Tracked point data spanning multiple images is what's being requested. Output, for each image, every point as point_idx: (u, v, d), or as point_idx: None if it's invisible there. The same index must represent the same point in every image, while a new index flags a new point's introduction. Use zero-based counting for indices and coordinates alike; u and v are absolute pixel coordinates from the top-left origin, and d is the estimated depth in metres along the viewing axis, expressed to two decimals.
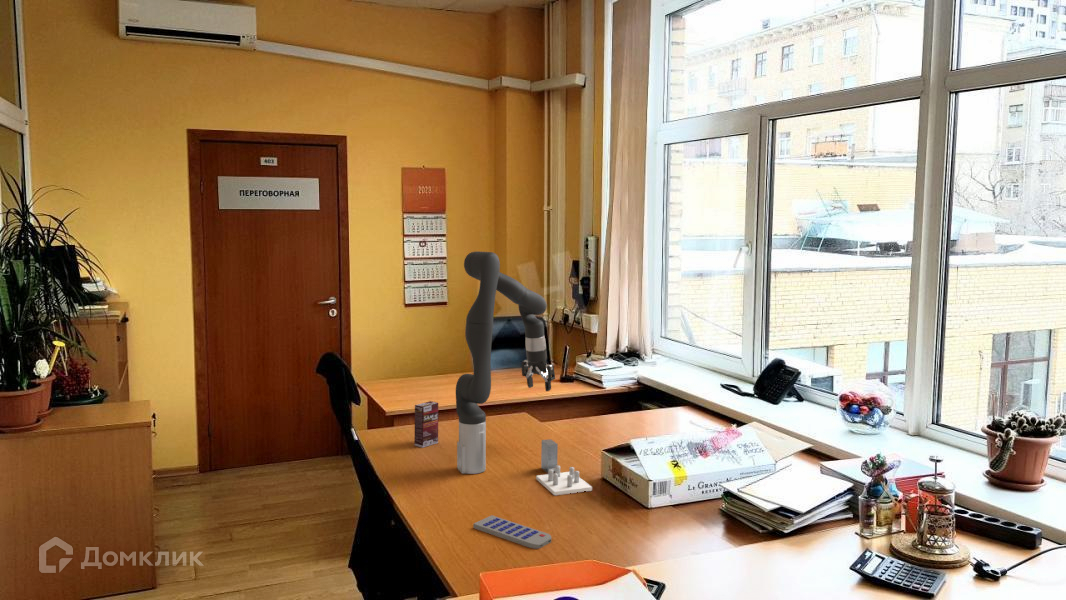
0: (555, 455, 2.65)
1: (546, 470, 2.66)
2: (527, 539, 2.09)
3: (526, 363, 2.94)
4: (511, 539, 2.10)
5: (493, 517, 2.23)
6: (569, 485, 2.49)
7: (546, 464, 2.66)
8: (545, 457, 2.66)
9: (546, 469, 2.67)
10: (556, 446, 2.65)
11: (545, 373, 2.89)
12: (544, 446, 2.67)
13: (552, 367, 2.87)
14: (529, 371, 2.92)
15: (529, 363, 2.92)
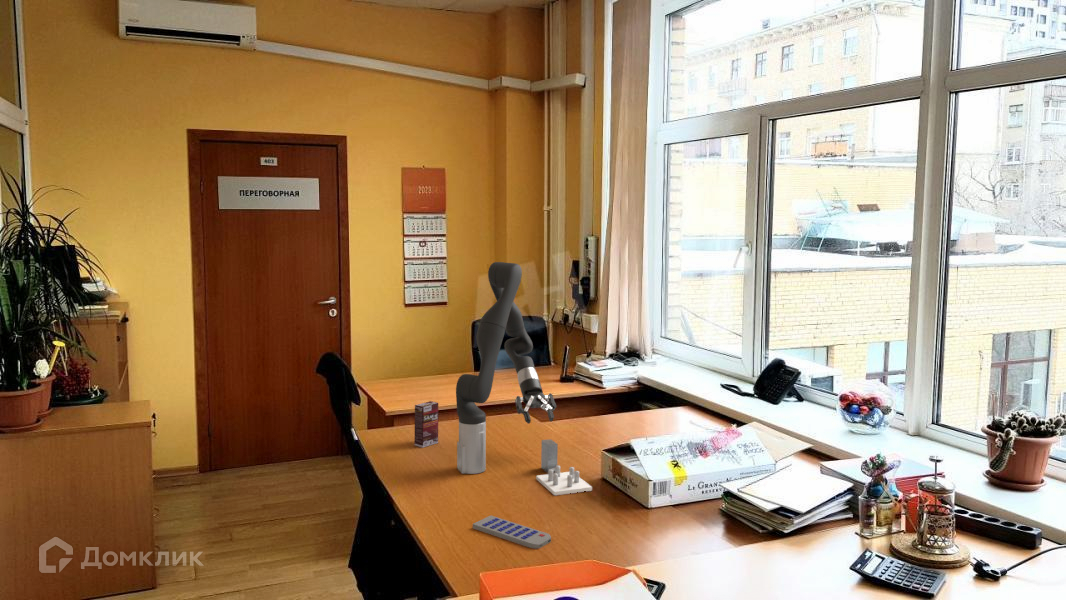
0: (555, 455, 2.65)
1: (546, 470, 2.66)
2: (527, 539, 2.09)
3: (521, 398, 2.78)
4: (511, 539, 2.10)
5: (492, 517, 2.23)
6: (569, 485, 2.49)
7: (546, 464, 2.66)
8: (545, 457, 2.66)
9: (546, 469, 2.67)
10: (556, 446, 2.65)
11: None
12: (544, 446, 2.67)
13: None
14: (529, 402, 2.77)
15: (526, 396, 2.79)
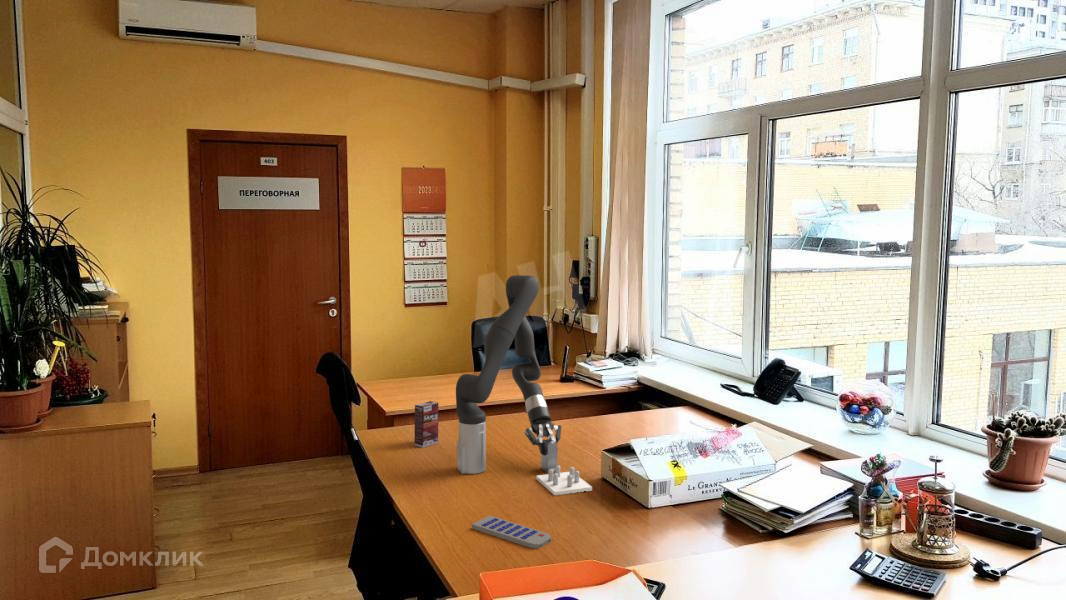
0: (555, 455, 2.65)
1: (546, 470, 2.66)
2: (526, 539, 2.09)
3: (530, 429, 2.71)
4: (510, 539, 2.10)
5: (491, 517, 2.23)
6: (569, 485, 2.49)
7: (546, 464, 2.66)
8: (545, 457, 2.66)
9: (546, 469, 2.67)
10: (556, 446, 2.65)
11: None
12: (544, 446, 2.67)
13: None
14: (540, 432, 2.70)
15: (534, 425, 2.72)
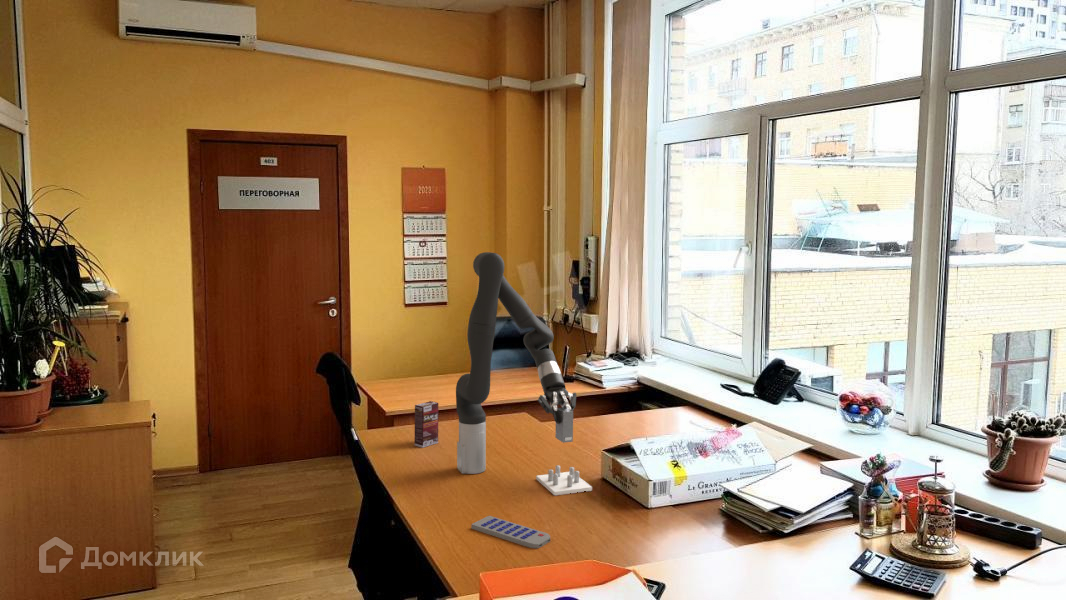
0: (571, 423, 2.51)
1: (561, 439, 2.51)
2: (526, 539, 2.09)
3: (544, 397, 2.56)
4: (510, 539, 2.10)
5: (490, 517, 2.23)
6: (569, 485, 2.49)
7: (561, 433, 2.51)
8: (560, 425, 2.51)
9: (560, 438, 2.52)
10: (572, 414, 2.50)
11: None
12: None
13: None
14: (555, 399, 2.55)
15: (548, 392, 2.57)
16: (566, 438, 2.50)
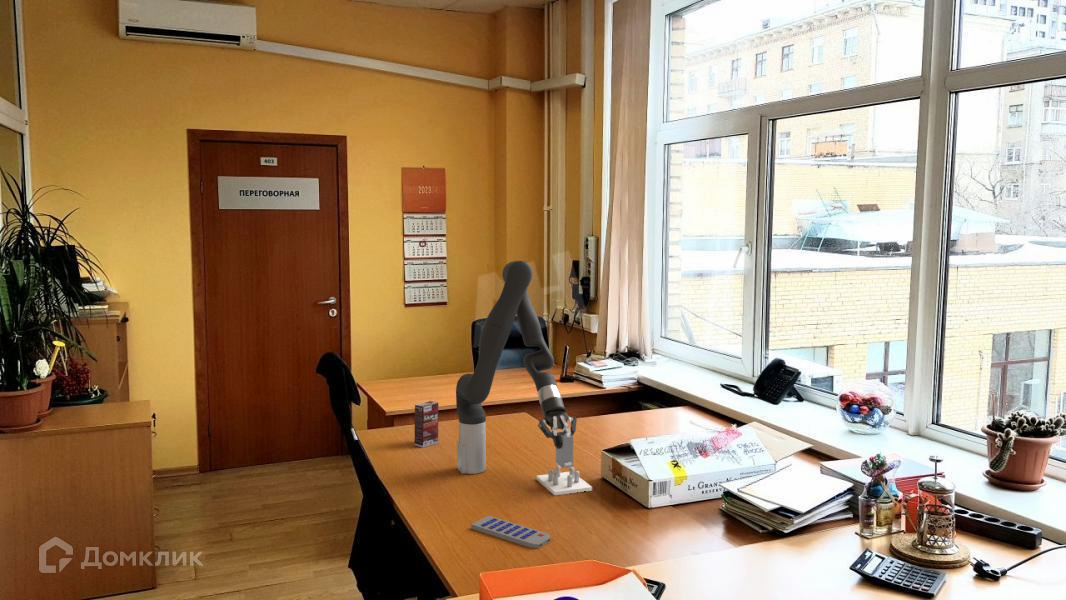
0: (571, 448, 2.50)
1: (561, 464, 2.51)
2: (526, 539, 2.09)
3: (544, 421, 2.56)
4: (510, 539, 2.10)
5: (490, 517, 2.23)
6: (569, 485, 2.49)
7: (561, 458, 2.51)
8: (560, 450, 2.51)
9: (561, 463, 2.52)
10: (572, 439, 2.50)
11: None
12: None
13: None
14: (555, 424, 2.55)
15: (548, 416, 2.57)
16: (566, 463, 2.50)
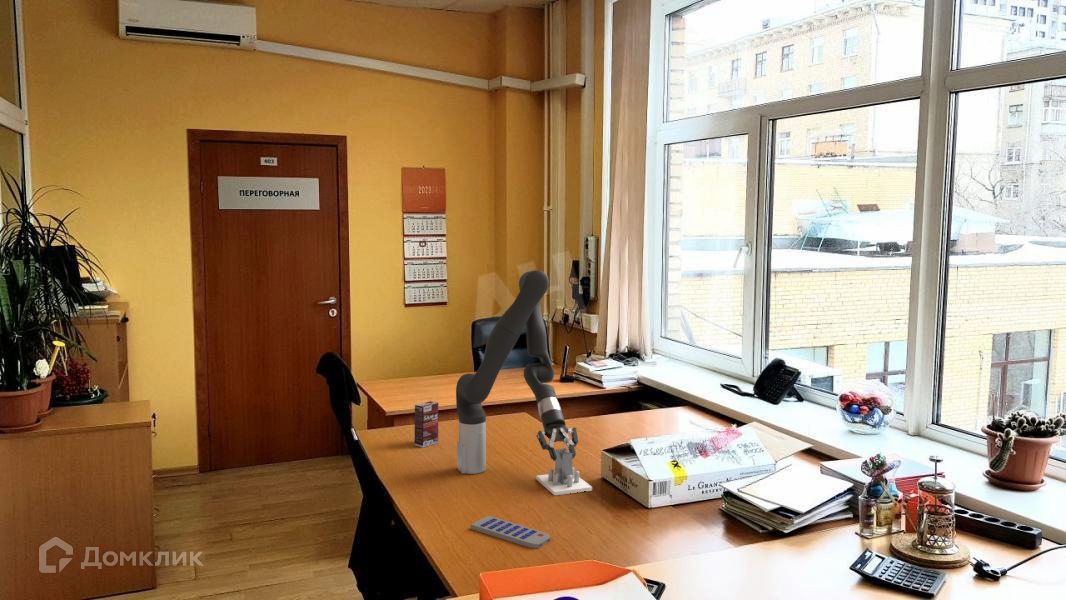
0: (570, 465, 2.51)
1: (560, 481, 2.52)
2: (526, 539, 2.09)
3: (543, 433, 2.56)
4: (510, 539, 2.10)
5: (490, 517, 2.23)
6: (569, 485, 2.49)
7: (560, 475, 2.52)
8: (560, 467, 2.52)
9: (560, 480, 2.52)
10: (571, 456, 2.51)
11: None
12: (558, 455, 2.53)
13: None
14: (553, 436, 2.55)
15: (548, 429, 2.57)
16: (565, 480, 2.51)
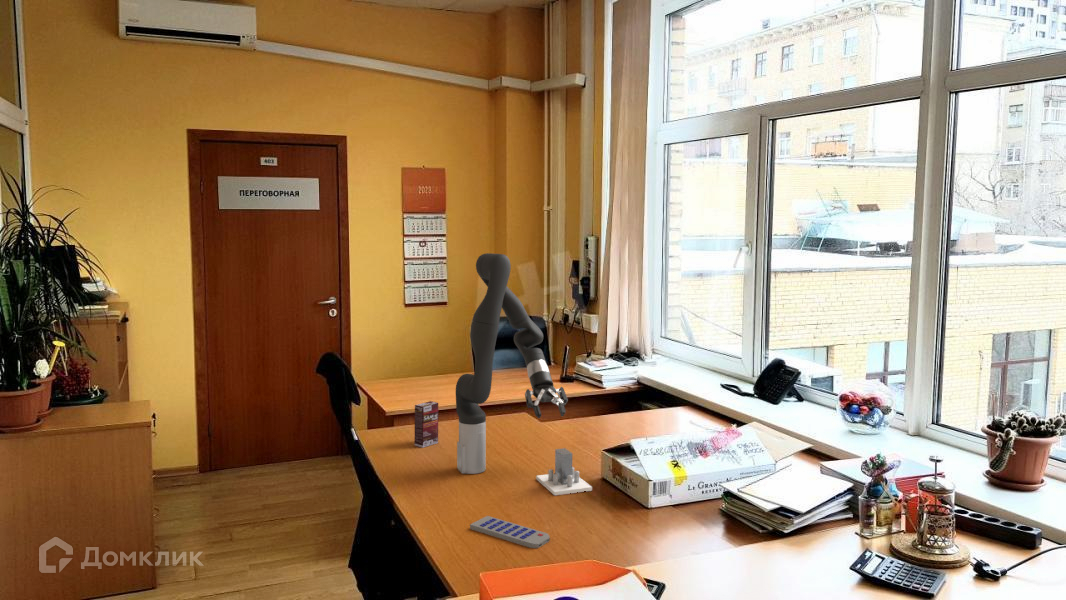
0: (570, 465, 2.51)
1: (560, 481, 2.52)
2: (526, 539, 2.09)
3: (531, 392, 2.66)
4: (509, 539, 2.10)
5: (489, 517, 2.23)
6: (569, 485, 2.49)
7: (560, 475, 2.52)
8: (559, 467, 2.52)
9: (560, 480, 2.52)
10: (571, 456, 2.51)
11: None
12: (558, 455, 2.53)
13: None
14: (540, 396, 2.64)
15: (536, 389, 2.66)
16: (565, 480, 2.51)
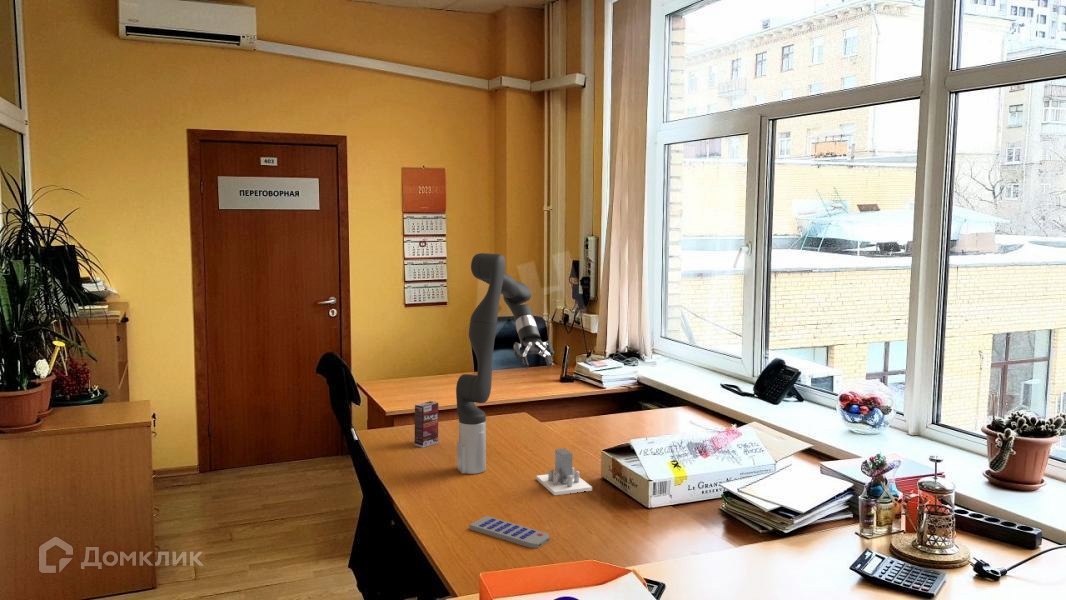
0: (570, 465, 2.51)
1: (560, 481, 2.52)
2: (525, 539, 2.09)
3: (519, 345, 2.81)
4: (509, 539, 2.10)
5: (488, 518, 2.23)
6: (569, 485, 2.49)
7: (560, 475, 2.52)
8: (559, 467, 2.52)
9: (560, 480, 2.52)
10: (571, 456, 2.51)
11: None
12: (558, 455, 2.53)
13: None
14: (527, 348, 2.80)
15: (524, 342, 2.82)
16: (565, 480, 2.51)
